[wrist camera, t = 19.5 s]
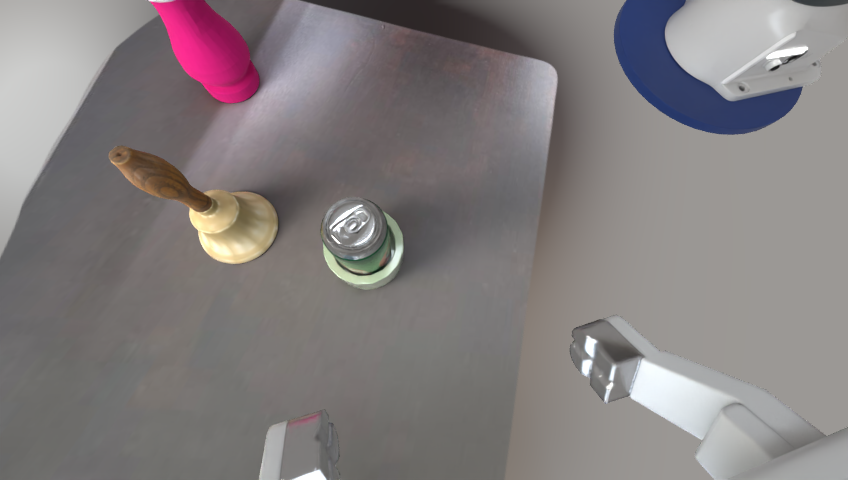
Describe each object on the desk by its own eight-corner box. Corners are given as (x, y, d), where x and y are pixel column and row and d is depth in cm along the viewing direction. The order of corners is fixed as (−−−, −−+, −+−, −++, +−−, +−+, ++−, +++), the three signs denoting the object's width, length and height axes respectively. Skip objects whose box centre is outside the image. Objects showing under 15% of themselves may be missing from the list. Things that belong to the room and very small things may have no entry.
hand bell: (288, 200, 36) (206, 109, 21) (265, 270, 34) (154, 227, 19) (216, 185, 36) (80, 83, 21) (188, 255, 34) (13, 198, 19)
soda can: (335, 258, 35) (302, 226, 23) (368, 226, 36) (352, 179, 24) (369, 290, 34) (352, 272, 22) (401, 255, 35) (401, 222, 24)
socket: (401, 221, 37) (401, 205, 32) (404, 287, 35) (405, 281, 30) (334, 224, 36) (323, 208, 31) (334, 291, 34) (323, 286, 29)
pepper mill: (224, 50, 41) (67, -194, 22) (275, 71, 41) (161, -156, 21) (191, 93, 39) (-13, -132, 20) (244, 116, 39) (90, -90, 19)
